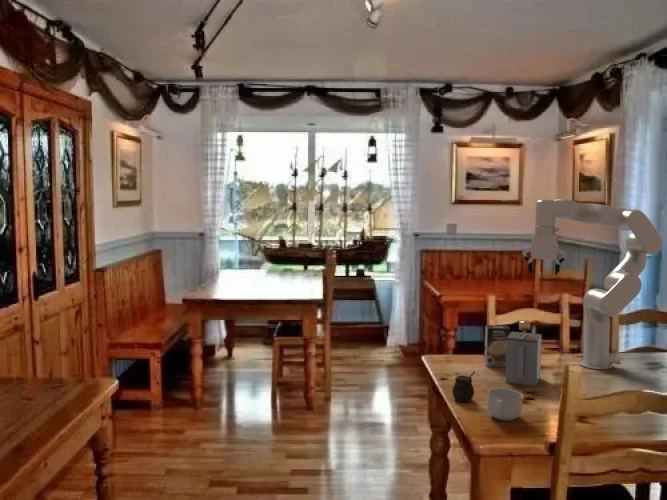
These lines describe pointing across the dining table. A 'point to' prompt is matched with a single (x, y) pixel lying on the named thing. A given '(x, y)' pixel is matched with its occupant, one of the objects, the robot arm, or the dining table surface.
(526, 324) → the plunger
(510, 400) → the teacup
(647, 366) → the dining table surface
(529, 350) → the press
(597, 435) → the dining table surface
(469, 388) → the mate gourd
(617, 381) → the dining table surface
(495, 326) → the coffee box
